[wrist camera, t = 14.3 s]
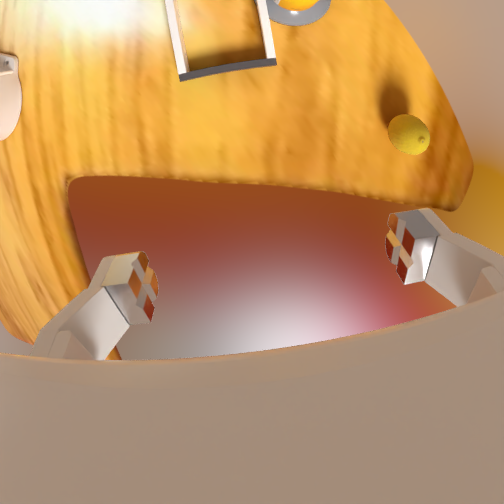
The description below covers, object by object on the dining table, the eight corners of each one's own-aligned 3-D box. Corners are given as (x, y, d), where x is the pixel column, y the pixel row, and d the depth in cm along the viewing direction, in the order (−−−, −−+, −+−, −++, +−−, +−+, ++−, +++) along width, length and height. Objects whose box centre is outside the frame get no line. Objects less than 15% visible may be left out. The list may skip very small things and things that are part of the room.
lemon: (381, 107, 34) (408, 117, 28) (413, 113, 34) (442, 125, 28) (377, 142, 37) (401, 159, 31) (408, 147, 37) (435, 164, 31)
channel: (275, 65, 31) (276, 65, 29) (184, 81, 32) (180, 81, 30) (257, -30, 23) (258, -36, 21) (167, -12, 24) (162, -17, 22)
